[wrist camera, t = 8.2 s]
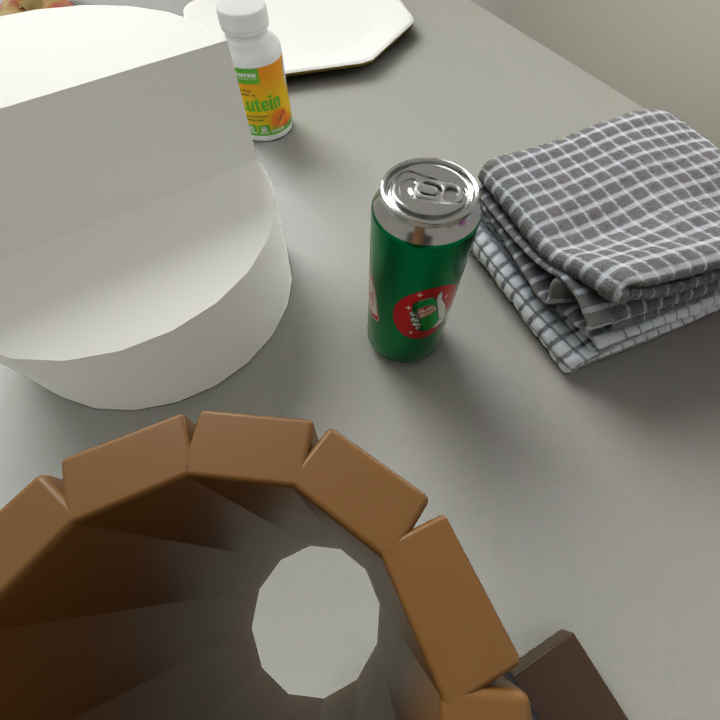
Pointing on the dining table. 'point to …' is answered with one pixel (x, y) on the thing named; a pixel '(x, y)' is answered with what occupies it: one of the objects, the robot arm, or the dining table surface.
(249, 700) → the slatted wooden pen holder
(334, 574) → the dining table surface
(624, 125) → the towel
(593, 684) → the peg stand
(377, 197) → the soda can
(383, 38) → the plate
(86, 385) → the white stepped round block
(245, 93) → the supplement bottle
